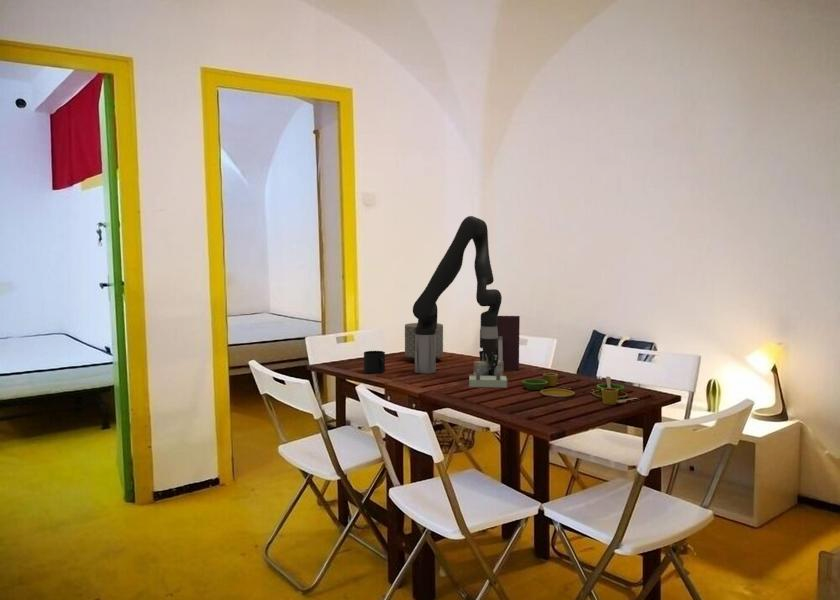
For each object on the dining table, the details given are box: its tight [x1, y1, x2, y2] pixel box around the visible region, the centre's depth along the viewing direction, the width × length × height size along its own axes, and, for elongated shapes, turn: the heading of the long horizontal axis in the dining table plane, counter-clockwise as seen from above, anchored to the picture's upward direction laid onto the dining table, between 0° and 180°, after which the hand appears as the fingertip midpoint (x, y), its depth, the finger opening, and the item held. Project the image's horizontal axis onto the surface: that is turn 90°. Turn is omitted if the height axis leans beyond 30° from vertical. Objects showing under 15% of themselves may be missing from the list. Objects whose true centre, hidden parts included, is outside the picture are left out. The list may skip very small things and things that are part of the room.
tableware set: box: [521, 372, 639, 406], centre depth 243 cm, size 41×28×6 cm
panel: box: [473, 360, 505, 376], centre depth 269 cm, size 12×4×8 cm, turn 110°
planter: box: [404, 322, 444, 362], centre depth 317 cm, size 19×19×18 cm
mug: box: [363, 350, 386, 375], centre depth 286 cm, size 9×12×9 cm
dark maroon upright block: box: [495, 315, 521, 371], centre depth 288 cm, size 17×10×25 cm, turn 84°
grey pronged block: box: [468, 366, 508, 389], centre depth 258 cm, size 15×9×7 cm, turn 85°
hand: (488, 376), depth 269 cm, fingers open, 4 cm apart
